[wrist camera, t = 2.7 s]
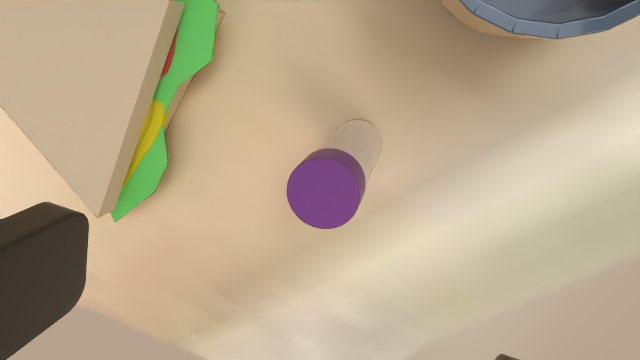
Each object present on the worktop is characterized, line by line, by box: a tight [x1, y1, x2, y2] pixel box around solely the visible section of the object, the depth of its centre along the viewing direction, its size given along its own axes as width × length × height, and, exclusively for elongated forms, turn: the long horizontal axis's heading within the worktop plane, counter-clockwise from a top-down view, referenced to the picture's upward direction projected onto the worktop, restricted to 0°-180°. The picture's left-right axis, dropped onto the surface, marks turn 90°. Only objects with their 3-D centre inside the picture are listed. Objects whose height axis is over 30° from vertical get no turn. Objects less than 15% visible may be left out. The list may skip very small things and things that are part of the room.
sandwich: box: [0, 0, 225, 222], centre depth 27 cm, size 15×20×5 cm
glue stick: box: [287, 120, 382, 229], centre depth 23 cm, size 3×3×9 cm
